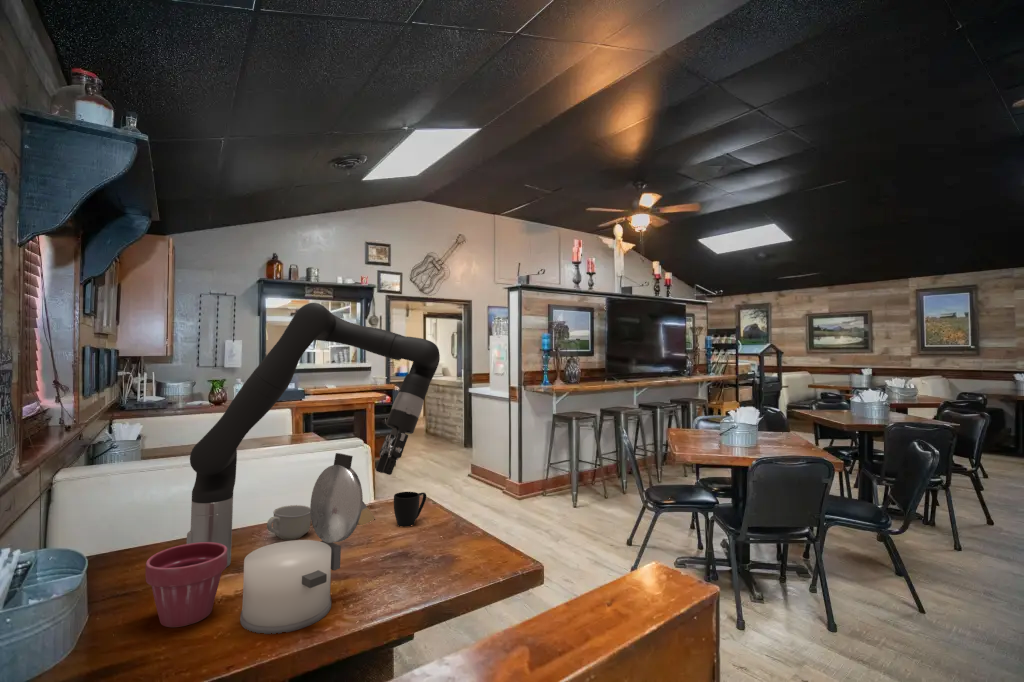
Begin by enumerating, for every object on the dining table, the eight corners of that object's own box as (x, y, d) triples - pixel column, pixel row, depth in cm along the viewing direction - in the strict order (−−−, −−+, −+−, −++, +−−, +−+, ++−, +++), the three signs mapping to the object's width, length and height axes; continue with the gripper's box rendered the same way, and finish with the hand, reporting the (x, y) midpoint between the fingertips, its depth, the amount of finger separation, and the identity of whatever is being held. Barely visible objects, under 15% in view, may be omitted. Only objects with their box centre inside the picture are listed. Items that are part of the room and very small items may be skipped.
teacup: (298, 528, 160) (299, 502, 160) (318, 535, 153) (319, 508, 154) (254, 540, 148) (255, 512, 149) (274, 549, 142) (275, 520, 142)
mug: (433, 521, 168) (433, 492, 168) (403, 530, 159) (403, 499, 159) (417, 516, 173) (418, 488, 174) (388, 524, 165) (388, 494, 165)
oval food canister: (273, 649, 94) (275, 583, 94) (219, 610, 108) (221, 553, 108) (361, 609, 109) (363, 552, 110) (304, 579, 123) (306, 529, 123)
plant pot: (134, 641, 96) (137, 572, 96) (153, 607, 109) (155, 546, 109) (221, 626, 101) (223, 561, 102) (229, 595, 114) (231, 538, 115)
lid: (362, 459, 113) (370, 459, 115) (319, 449, 123) (327, 450, 125) (347, 550, 110) (355, 549, 111) (304, 533, 120) (312, 532, 122)
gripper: (386, 409, 139) (363, 467, 134) (398, 405, 126) (374, 469, 121) (411, 418, 141) (390, 476, 136) (426, 416, 129) (403, 479, 124)
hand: (382, 473), depth 129 cm, fingers open, 8 cm apart
